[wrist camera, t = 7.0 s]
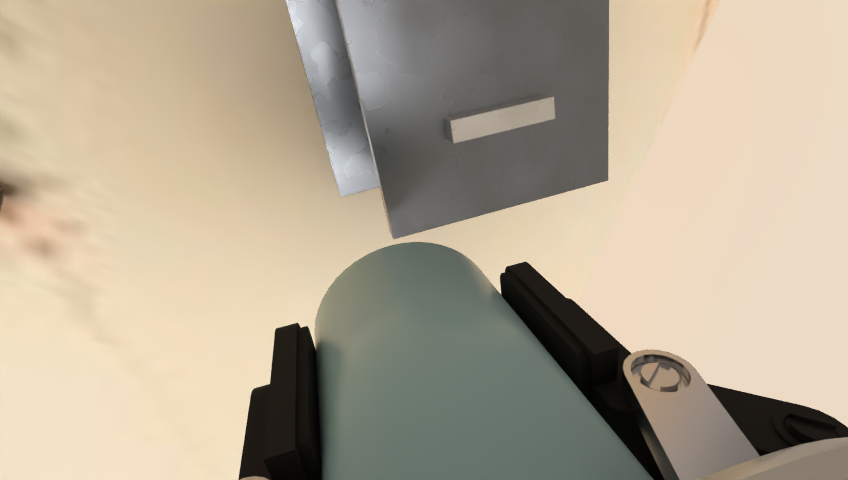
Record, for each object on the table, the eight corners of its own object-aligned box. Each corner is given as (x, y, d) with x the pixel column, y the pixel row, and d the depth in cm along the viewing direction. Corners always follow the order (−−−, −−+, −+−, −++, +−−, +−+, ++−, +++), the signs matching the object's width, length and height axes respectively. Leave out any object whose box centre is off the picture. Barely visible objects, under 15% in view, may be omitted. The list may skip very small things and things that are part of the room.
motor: (255, -108, 24) (212, -255, 13) (516, -144, 27) (678, -296, 15) (339, 191, 32) (359, 267, 21) (536, 141, 35) (653, 184, 23)
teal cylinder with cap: (291, 270, 11) (264, 814, 3) (485, 222, 12) (845, 552, 4) (339, 419, 13) (394, 953, 5) (499, 369, 14) (747, 765, 6)
